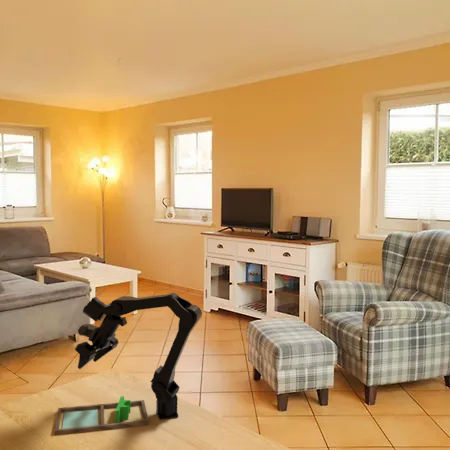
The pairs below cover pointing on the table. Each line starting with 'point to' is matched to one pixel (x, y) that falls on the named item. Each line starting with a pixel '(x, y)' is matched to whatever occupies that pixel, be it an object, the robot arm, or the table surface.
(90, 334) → the robot arm
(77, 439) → the table surface
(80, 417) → the sorting frame
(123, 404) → the pipe clamp
